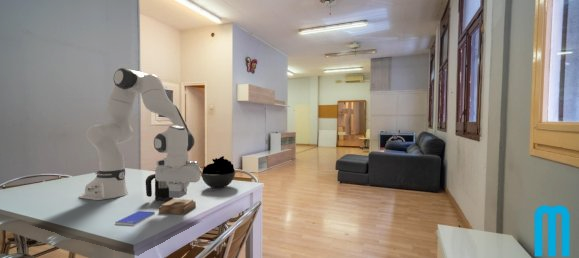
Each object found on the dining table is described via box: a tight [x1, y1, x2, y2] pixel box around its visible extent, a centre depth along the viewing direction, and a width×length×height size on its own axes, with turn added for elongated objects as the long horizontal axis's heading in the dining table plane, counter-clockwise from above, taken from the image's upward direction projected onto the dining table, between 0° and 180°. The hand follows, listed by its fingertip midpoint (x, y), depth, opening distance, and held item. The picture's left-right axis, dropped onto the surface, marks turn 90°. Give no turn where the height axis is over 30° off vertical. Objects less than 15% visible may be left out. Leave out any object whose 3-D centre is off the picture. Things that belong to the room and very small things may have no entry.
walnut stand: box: [158, 198, 196, 215], centre depth 115 cm, size 12×10×4 cm
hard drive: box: [114, 210, 156, 227], centre depth 105 cm, size 2×8×12 cm
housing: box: [169, 182, 188, 199], centre depth 115 cm, size 6×5×6 cm
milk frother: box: [145, 170, 174, 202], centre depth 130 cm, size 14×16×15 cm
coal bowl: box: [200, 155, 236, 190], centre depth 154 cm, size 20×20×19 cm
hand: (178, 191), depth 115 cm, fingers closed on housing, 5 cm apart
